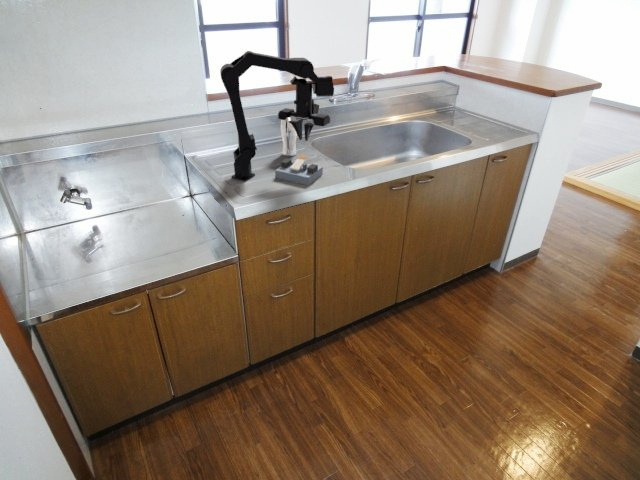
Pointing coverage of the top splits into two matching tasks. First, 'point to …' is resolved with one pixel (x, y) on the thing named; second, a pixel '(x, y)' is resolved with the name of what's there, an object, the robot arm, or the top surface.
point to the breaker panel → (298, 174)
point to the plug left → (286, 163)
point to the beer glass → (288, 138)
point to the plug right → (312, 168)
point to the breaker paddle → (299, 163)
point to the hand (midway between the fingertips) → (303, 140)
